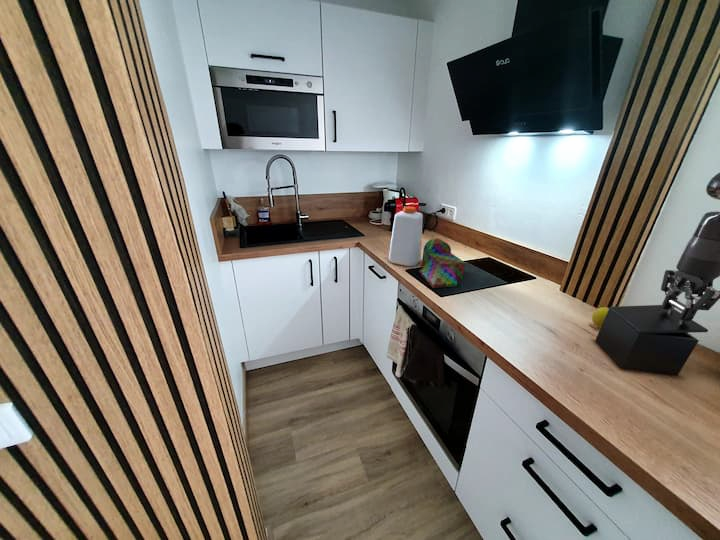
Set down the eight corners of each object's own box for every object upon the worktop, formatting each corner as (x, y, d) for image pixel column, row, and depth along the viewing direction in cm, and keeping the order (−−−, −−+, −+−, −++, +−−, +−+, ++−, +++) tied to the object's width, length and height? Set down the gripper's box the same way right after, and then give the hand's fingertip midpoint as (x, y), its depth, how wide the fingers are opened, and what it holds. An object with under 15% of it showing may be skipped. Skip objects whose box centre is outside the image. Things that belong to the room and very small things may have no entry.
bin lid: (666, 306, 82) (671, 291, 81) (707, 332, 71) (713, 315, 69) (609, 308, 85) (612, 294, 84) (639, 333, 74) (643, 317, 72)
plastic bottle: (422, 258, 153) (428, 206, 142) (414, 268, 141) (420, 212, 130) (395, 253, 159) (399, 203, 148) (385, 262, 147) (389, 208, 136)
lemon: (606, 325, 98) (615, 305, 95) (611, 334, 94) (620, 313, 91) (586, 321, 101) (594, 301, 97) (591, 329, 96) (599, 309, 93)
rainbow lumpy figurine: (411, 265, 144) (414, 238, 138) (442, 263, 147) (446, 237, 142) (433, 287, 122) (437, 256, 116) (468, 285, 125) (475, 255, 119)
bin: (643, 346, 88) (660, 314, 83) (677, 376, 77) (699, 340, 72) (594, 341, 90) (608, 309, 85) (621, 369, 79) (639, 333, 74)
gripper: (755, 267, 63) (717, 331, 70) (696, 246, 76) (669, 302, 83) (715, 265, 64) (681, 328, 71) (664, 245, 77) (639, 300, 84)
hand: (675, 313), depth 77 cm, fingers closed on bin lid, 5 cm apart
